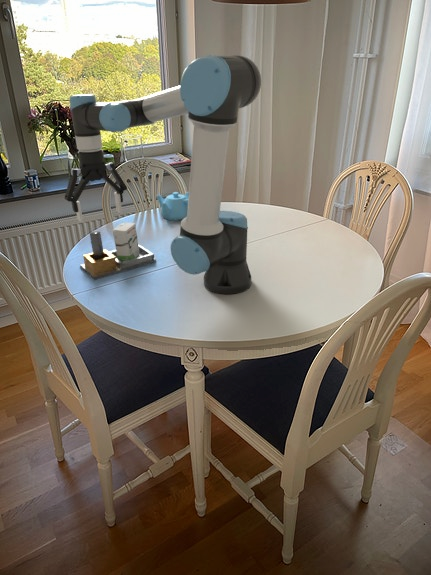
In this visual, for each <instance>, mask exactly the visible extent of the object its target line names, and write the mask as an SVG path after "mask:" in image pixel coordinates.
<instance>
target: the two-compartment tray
mask: <svg viewBox="0 0 431 575" xmlns="http://www.w3.org/2000/svg"><path fill="white" fill-rule="evenodd" d="M138 245H139V252H140V254H139V255H138V256H137V257H136V258H134V259H130V260H126V261H123V262H121V261H119V260H118V258H117V252H116V249H113V250H110V251H108V250H107V249H103V252H104V258H103V259H99V260H94V255H93V252H90V253H86V254H83V256H82V257H83V262H84V263H81V264H79V268H81V270H83V271H84V272H85V273H86V274H87V275H88V276H89V277H90V278H92V280H93V281H96V280H98V279H102V278H105V277H108V276H112V275H115V274H119V273H123V272H126V271H129V270H133V269H136V268H140V267H143V266H147V265H151V264H154V263H156V262H157V259H156V258H155V254H154V253H153V252H151V251H150V250H149V249H146V248H145V247H144V246H142V245H141V244H139V243H138Z"/></svg>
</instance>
